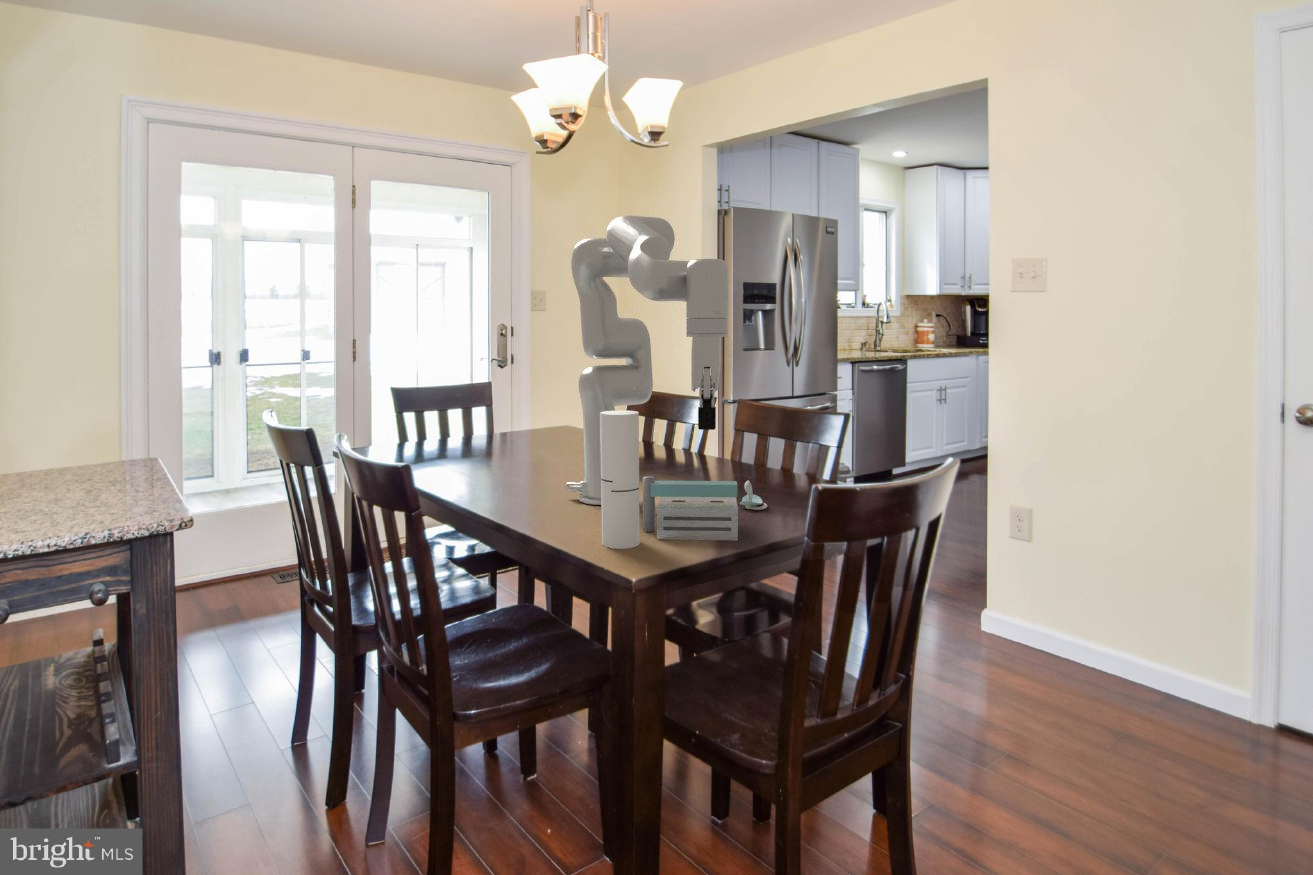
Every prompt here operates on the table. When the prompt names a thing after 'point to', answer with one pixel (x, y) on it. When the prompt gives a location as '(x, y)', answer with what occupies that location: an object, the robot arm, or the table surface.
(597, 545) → the table surface
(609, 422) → the cylindrical container
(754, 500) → the pacifier
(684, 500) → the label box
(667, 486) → the swing bar
